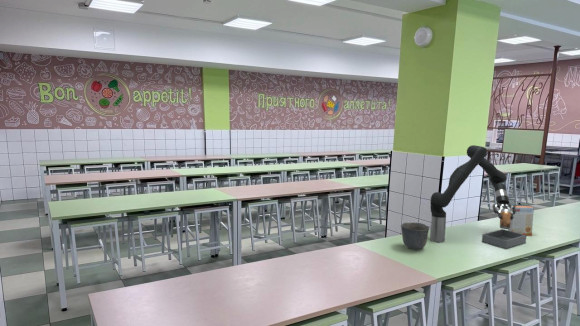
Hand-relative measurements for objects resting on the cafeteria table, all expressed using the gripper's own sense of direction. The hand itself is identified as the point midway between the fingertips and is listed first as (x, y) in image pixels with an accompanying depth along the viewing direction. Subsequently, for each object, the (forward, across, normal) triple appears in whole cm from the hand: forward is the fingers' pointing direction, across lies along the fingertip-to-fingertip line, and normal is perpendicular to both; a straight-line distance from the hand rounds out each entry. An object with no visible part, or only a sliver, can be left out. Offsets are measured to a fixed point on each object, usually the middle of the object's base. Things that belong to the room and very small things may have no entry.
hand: (506, 218), depth 238 cm
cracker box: (-5, +17, +30) cm, 35 cm away
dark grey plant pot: (+31, -60, -7) cm, 68 cm away
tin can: (+4, 0, +6) cm, 7 cm away
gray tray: (+11, 0, +13) cm, 17 cm away
